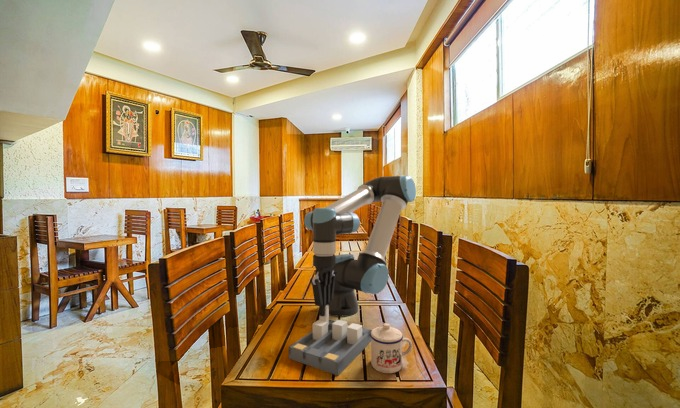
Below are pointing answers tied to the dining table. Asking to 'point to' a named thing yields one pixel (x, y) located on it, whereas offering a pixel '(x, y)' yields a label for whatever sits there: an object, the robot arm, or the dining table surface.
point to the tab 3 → (354, 333)
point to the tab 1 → (319, 329)
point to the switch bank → (328, 350)
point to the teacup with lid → (387, 348)
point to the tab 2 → (339, 329)
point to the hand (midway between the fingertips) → (324, 324)
